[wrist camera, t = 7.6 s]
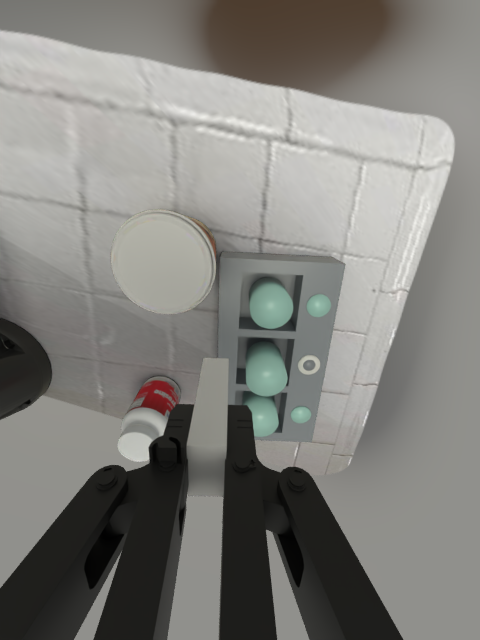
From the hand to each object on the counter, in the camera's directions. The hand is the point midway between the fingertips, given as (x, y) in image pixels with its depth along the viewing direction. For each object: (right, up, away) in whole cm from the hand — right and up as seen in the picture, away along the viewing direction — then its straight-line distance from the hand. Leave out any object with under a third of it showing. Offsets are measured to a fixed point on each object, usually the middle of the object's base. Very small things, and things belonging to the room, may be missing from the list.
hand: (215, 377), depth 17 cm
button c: (+5, +7, +18) cm, 20 cm away
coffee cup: (-5, +13, +19) cm, 23 cm away
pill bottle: (-11, -8, +27) cm, 30 cm away
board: (+6, 0, +23) cm, 24 cm away
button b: (+5, -1, +20) cm, 20 cm away
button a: (+4, -8, +24) cm, 26 cm away
